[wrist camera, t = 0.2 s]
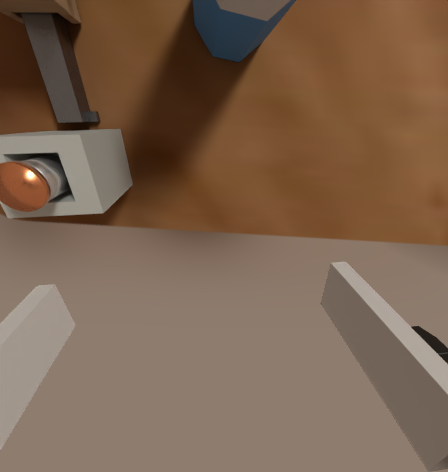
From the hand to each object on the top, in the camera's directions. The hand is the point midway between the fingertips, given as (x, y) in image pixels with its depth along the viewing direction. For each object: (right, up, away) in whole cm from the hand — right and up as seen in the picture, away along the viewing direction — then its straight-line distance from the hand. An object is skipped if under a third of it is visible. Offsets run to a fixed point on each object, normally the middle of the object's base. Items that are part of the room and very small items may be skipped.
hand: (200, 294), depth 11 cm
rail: (-19, +27, +15) cm, 36 cm away
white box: (-18, +14, +22) cm, 32 cm away
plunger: (-18, +10, +14) cm, 24 cm away
